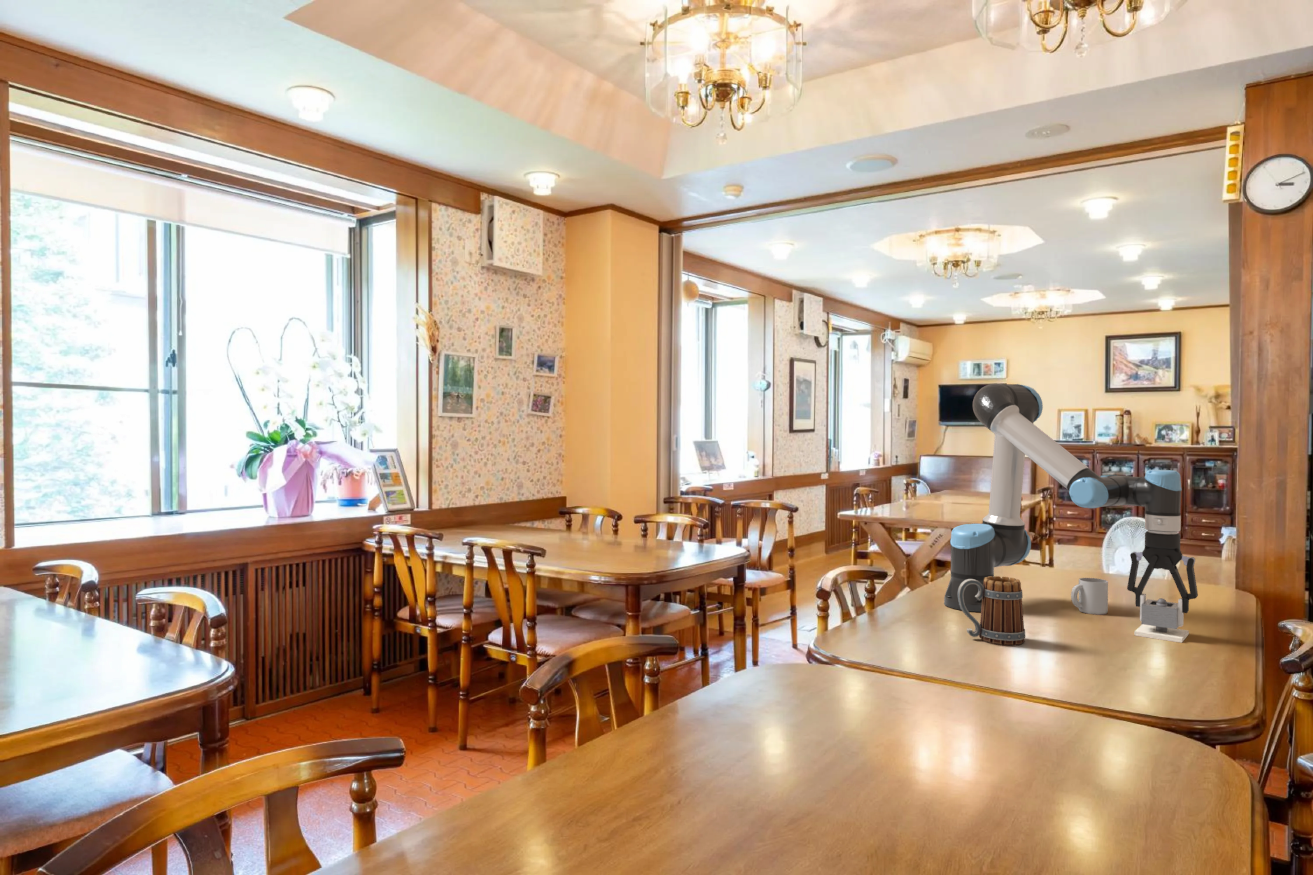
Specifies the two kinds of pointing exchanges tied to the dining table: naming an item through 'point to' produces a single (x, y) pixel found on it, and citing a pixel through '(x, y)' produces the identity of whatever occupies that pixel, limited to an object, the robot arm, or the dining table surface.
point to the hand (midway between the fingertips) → (1161, 622)
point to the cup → (1091, 596)
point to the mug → (997, 610)
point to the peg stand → (1161, 630)
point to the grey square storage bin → (1160, 614)
